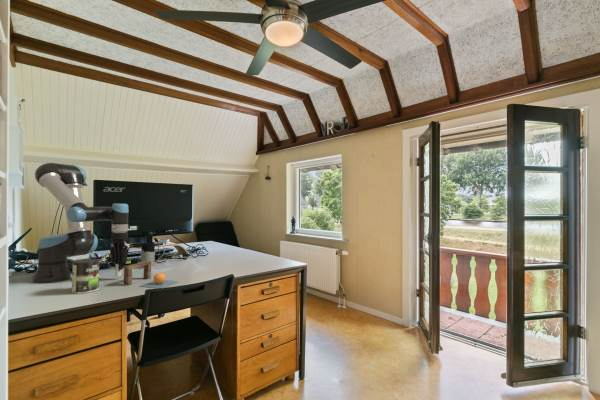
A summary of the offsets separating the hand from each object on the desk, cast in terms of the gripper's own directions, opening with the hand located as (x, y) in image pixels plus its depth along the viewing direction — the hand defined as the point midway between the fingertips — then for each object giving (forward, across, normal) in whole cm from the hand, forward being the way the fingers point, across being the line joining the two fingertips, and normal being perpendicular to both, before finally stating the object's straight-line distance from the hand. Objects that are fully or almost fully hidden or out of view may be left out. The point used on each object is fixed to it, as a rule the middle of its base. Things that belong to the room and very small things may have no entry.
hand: (118, 275), depth 153 cm
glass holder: (+2, -6, +30) cm, 31 cm away
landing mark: (+2, +27, 0) cm, 27 cm away
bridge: (+2, +13, 0) cm, 13 cm away
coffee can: (+2, +3, -20) cm, 20 cm away
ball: (-1, +27, 0) cm, 27 cm away
